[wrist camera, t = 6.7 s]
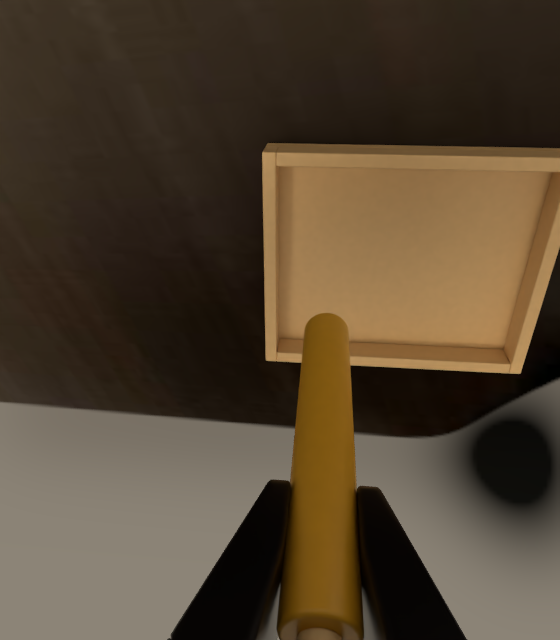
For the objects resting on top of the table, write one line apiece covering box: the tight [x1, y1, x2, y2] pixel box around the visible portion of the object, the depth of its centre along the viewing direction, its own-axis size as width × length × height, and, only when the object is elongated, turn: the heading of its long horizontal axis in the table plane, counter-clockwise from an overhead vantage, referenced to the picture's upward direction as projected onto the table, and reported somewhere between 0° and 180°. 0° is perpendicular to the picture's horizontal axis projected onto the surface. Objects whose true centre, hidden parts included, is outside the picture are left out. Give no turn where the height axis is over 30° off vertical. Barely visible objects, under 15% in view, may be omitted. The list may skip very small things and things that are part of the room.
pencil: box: [276, 313, 364, 640], centre depth 10 cm, size 1×1×10 cm
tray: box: [262, 143, 560, 374], centre depth 20 cm, size 11×9×2 cm
